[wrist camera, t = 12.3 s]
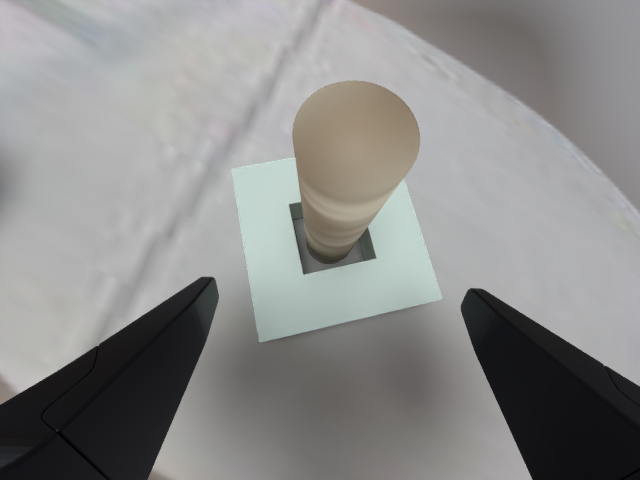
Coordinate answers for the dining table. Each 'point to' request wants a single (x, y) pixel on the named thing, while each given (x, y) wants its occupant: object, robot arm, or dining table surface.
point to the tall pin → (349, 161)
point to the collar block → (332, 284)
